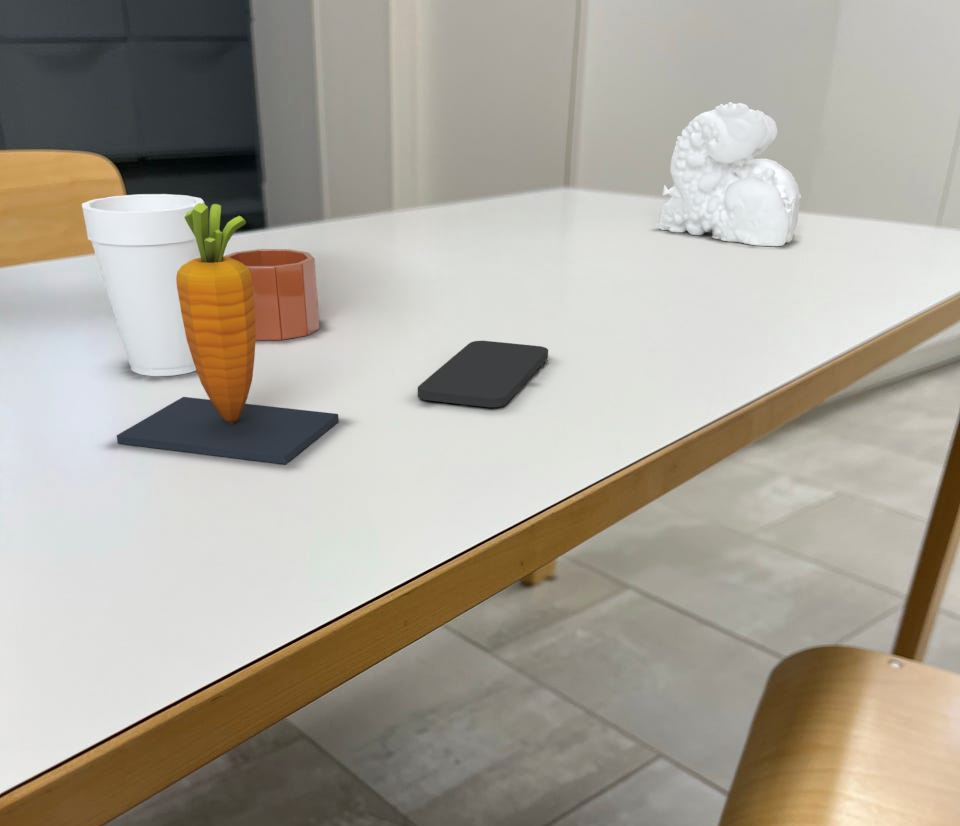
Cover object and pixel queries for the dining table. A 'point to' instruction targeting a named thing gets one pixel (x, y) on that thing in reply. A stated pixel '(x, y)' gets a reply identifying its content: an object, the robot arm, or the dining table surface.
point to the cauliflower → (730, 180)
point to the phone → (484, 374)
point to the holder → (282, 292)
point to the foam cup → (145, 274)
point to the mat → (230, 430)
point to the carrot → (218, 313)
